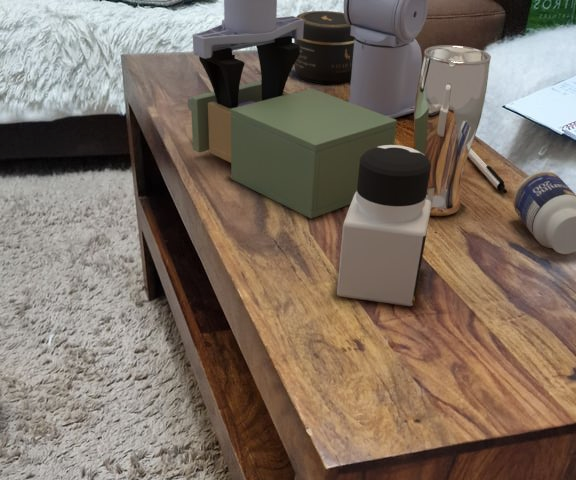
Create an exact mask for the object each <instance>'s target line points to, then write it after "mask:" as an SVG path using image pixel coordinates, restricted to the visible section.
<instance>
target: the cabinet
mask: <svg viewBox="0 0 576 480" xmlns="http://www.w3.org/2000/svg"><path fill="white" fill-rule="evenodd" d="M347 101H348V100H345V99H341V98H340V97H336V96H334V95H331V94H329V93H326V92H324V91H321V90H317V89H315V88H312V87H311V88H307V89H304V90H300V91H296V92H290V93H289V94H287V95H283V96H279V97H275V98H271V99H267V100H263V101H259V102H255V103H252V104H248V105H244V106H240V107H236V108H232V109H231V163H230V165H231V167H230V169H231V171H230V173H231V175H230V178H231V180H233V181H234V182H237V183H238V184H241V185H243V186H244V187H246V188H249V189H250V190H252V191H254V192H257V193H259V194H261V195H262V196H265V197H266V198H269V199H271V200H272V201H275V202H277V203H279V204H281V205H283V206H285V207H287V208H288V209H291V210H293V211H295V212H297V213H299V214H300V215H303V216H304V217H307V218H309V219H311V220H312V219H315V218H317V217H320V216H323V215H325V214H328V213H331V212H333V211H336V210H339V209H341V208H344V207H347V206H350V205H351V202H352V199H353V196H354V194H355V192H357V184H358V174H359V164H360V158H361V156H362V155H363V154H364V153H365V152H366V151H368V150H370V149H372V148H376V147H379V146H384V145H395V142H396V141H395V140H396V135H397V125H398V120H397V119H396V118H393V119H392V118H390V117H387V116H384V115H382V114H379V113H376V112H374V111H371V110H368V109H366V108H363V107H360V106H358V105H355V104H352V103H350V102H347Z"/></svg>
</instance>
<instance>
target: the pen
mask: <svg viewBox="0 0 576 480" xmlns="http://www.w3.org/2000/svg"><path fill="white" fill-rule="evenodd" d="M467 158H469V160H470V161H471V162H472V163H473V164H474V165H475V166H476V167H477V168H478V170H479V171H480V172H481V173H482V174H483V175H484V176H485V177H486V178H487V180H488V181H489V182H490V183H491V184H492V185H493V187H495V188H496V190H497V191H498V192H502V193H503V194H507V193H508V191H507V189H506V185H505V181H504V180H503V179H502V177H500V175H499V174H497V172H496V171H495V170H494V169H493V168H492V167H491V166H490V165H487V164H486V162H484V161H483V159H482V158H481V157H480V156H479V155H478V154H477V153H476V152H475V151H474V149H472V147H471V148H470V151H469V154H468V157H467Z"/></svg>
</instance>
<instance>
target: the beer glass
mask: <svg viewBox="0 0 576 480" xmlns="http://www.w3.org/2000/svg"><path fill="white" fill-rule="evenodd" d="M491 60H492V56H491V55H490V53H488V52H486V51H484V50H482V49H478V48H476V47H475V48H474V47H471V46H465V45H454V44H453V45H451V44H445V45H444V44H443V45H442V44H441V45H433V46H429V47H427V48H425V49H424V51H423V56H422V64H421V71H420V76H419V81H418V86H417V92H416V99H415V108H414V112H413V149H415V150H417V151H419V152H421V153H422V154H424V155H425V156H427V158H428V159H429V161H430V163H431V171H430V177H429V183H428V189H427V195H426V200H430V201H431V211H430V216H429V217H445V216H450V215H454V214H455V213H457V212H458V211H459V210H460V207H461V184H462V177H463V172H464V169H465V166H466V162H467V159H468V158H469V157H468V154H469V151H470V148H471V149H472V145H473V143H474V140H475V137H476V134H477V132H478V128H479V125H480V122H481V119H482V114H483V111H484V106H485V101H486V95H487V90H488V83H489V82H488V81H489V73H490V65H491Z"/></svg>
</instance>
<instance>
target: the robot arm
mask: <svg viewBox="0 0 576 480" xmlns="http://www.w3.org/2000/svg"><path fill="white" fill-rule="evenodd" d="M277 5H278V0H223V17H224V18H223V19H221V24H219V25H216V26H214V27H212V28H209V29H206V30H204V31H201V32H197V33H193V34H192V53H193V55H194V56H196V57H198V60H199V62H200V63H201V65H202V67H203V69H204V71H205V73H206V75H207V77H208V80H209V82H210V85H211V88H212V89H213V90H212V91H213V92H214V93H215V96H216V100H217V103H218V104H220V105H222V106H225V107H227V108H229V109H232V108H236V107H238V93H239V85H241V80H242V75H243V71H244V67H245V62H244V61H243V60H240V59H237V58H236V55H235V54H233V51H238V50H242V49H249V48H253V47H256V51H257V56H258V61H259V69H260V77H261V79H260V81H261V83H262V101H263V100H267V99H271V98H275V97H279V96H282V95H283V91H284V92H285V88H286V84H287V81H288V79H289V77H290V73H291V72H292V69H293V67H294V63H295V62H296V60H297V58H298V57H299V55H300V45H298V44H295V43H294V42H293V40H294V39H296V40H298V39H303V30H304V19H300V18H297V16H294V15H289V16H281V17H278V15H277V13H278V11H277V9H278V6H277ZM428 9H429V0H343V13H344V17H345V20H346V23H347V24H348V26H349V27H351V31H350V35H351V36H353V37H355V39H354V51H353V62H352V73H351V79H350V85H349V97H348V98H349V99H348V100H346V101H347V102H350V103H352V104H355V105H358V106H360V107H363V108H366V109H368V110H371V111H374V112H376V113H379V114H382V115H384V116H387V117H390V118H392V119H396V118H399V117H404V116H406V115H410V114H414V108H415V99H416V92H417V86H418V81H419V76H420V71H421V67H422V62H423V55H422V49H421V45H420V44H419V43H418V40H416V38H417V37H418V36H419V34H420V33H421V31H422V30H423V28H424V26H425V22H426V21H427V17H428V11H429V10H428Z"/></svg>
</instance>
